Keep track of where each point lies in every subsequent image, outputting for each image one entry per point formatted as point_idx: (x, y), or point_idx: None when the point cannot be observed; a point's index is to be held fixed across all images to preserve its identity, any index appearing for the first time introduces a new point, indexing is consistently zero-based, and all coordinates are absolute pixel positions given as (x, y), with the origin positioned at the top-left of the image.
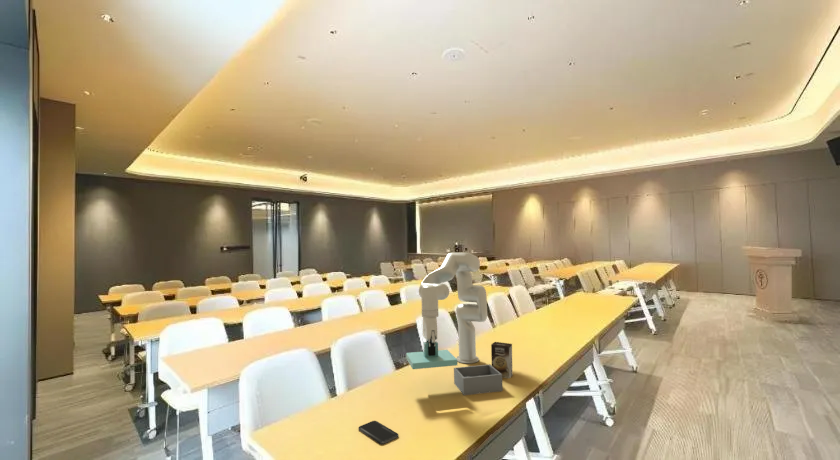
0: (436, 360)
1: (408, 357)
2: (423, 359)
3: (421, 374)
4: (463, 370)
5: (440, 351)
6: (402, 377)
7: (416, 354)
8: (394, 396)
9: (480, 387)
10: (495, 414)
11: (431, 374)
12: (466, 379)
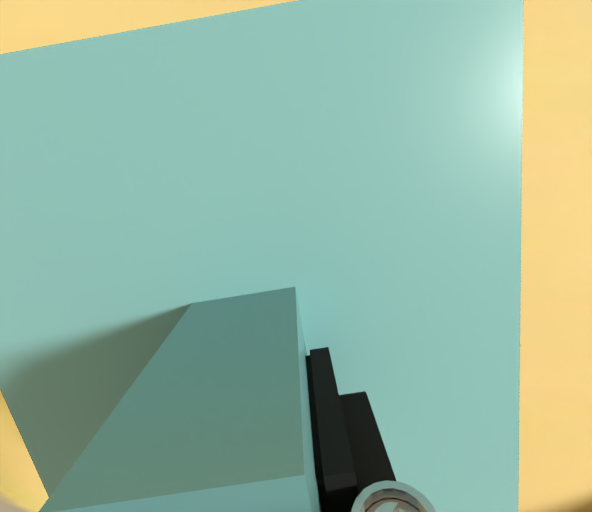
0: (58, 439)
1: (271, 13)
2: (97, 274)
3: (580, 210)
4: None
5: (458, 506)
6: (564, 69)
7: (380, 171)
8: (232, 9)
9: None
10: (30, 492)
11: (559, 274)
12: None
